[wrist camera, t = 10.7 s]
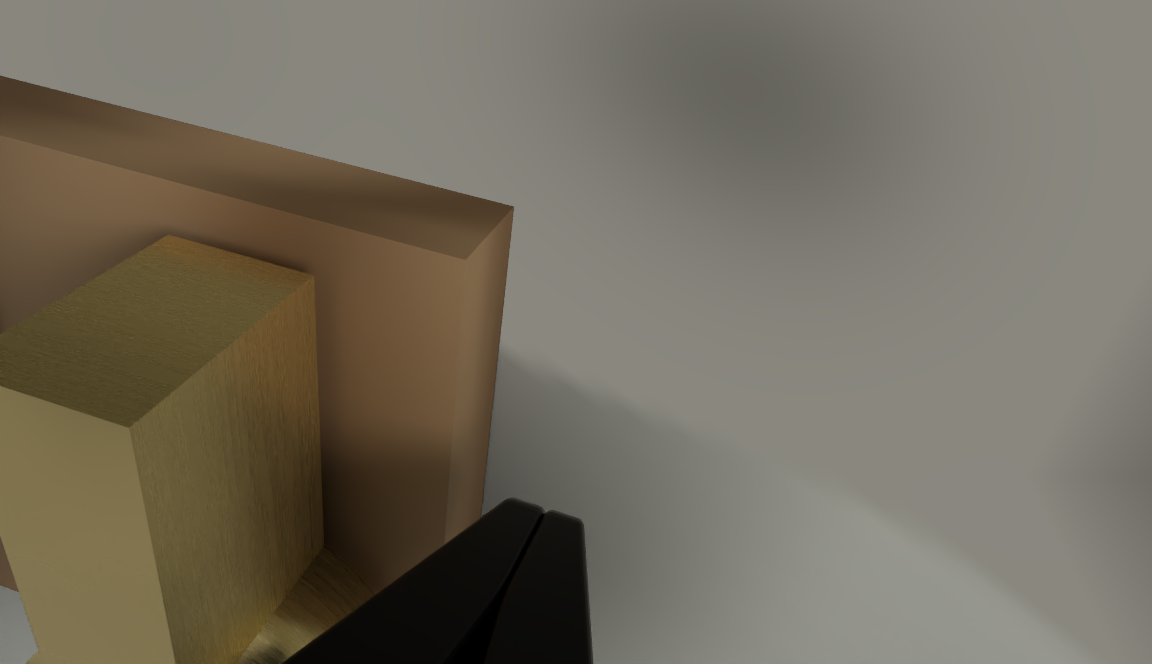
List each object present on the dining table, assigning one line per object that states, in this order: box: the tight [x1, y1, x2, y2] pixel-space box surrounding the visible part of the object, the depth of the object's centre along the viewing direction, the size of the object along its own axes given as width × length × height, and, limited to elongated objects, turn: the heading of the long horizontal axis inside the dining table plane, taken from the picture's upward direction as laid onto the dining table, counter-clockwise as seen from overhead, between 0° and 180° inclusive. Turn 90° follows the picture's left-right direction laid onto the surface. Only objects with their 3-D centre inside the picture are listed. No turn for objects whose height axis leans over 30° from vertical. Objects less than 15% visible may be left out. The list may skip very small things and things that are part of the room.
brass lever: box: [0, 235, 374, 664], centre depth 10 cm, size 8×4×3 cm, turn 171°
